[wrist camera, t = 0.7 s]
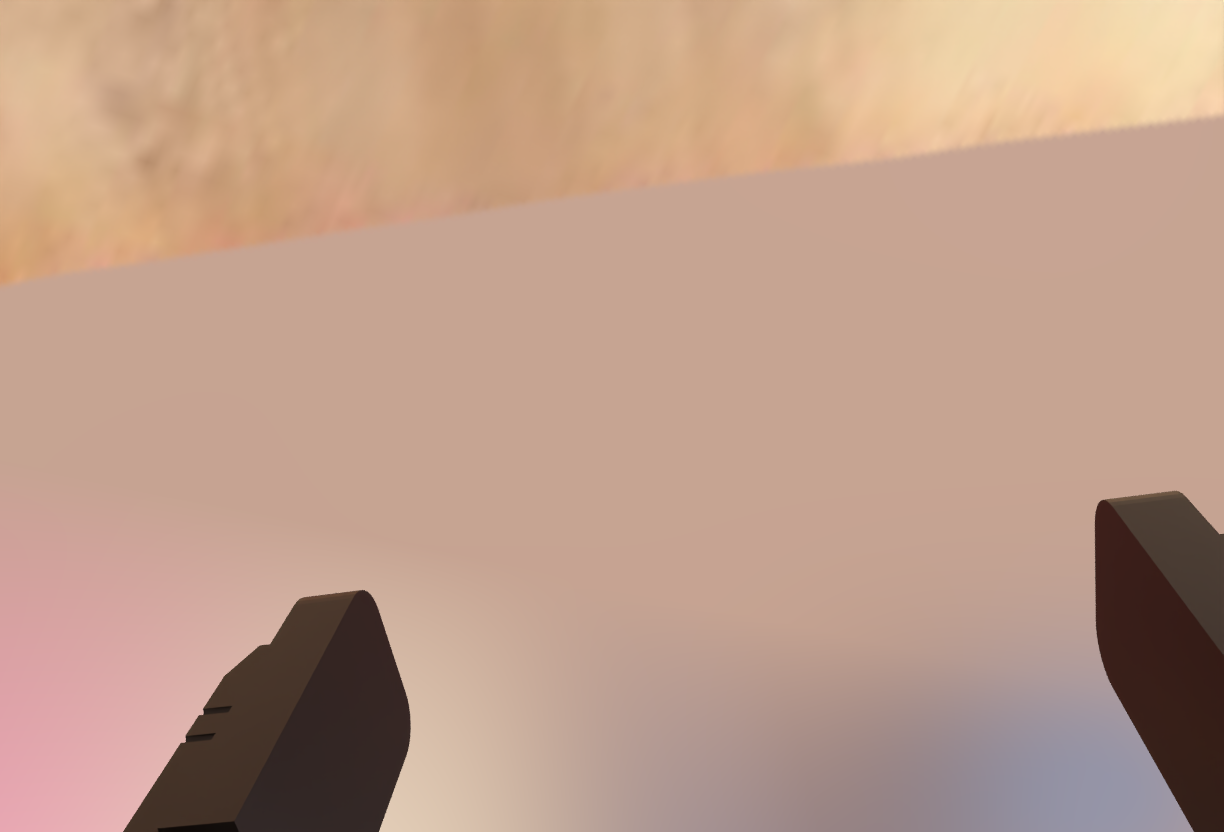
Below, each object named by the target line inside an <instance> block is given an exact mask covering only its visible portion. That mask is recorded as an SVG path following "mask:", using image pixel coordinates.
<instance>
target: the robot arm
mask: <svg viewBox="0 0 1224 832" xmlns="http://www.w3.org/2000/svg"><path fill="white" fill-rule="evenodd" d="M1095 581H1096V583H1095V584H1096V630H1097V638H1098V645H1099V650H1100V654H1101V658H1102V662H1103V665H1104V668H1105V671H1106V674H1107V676H1108V679H1109V681H1110V683H1111V685H1112V687H1113V689H1114V690H1115V692H1116V694H1117V696H1118V698H1119V700H1120V701H1121V703H1122V705H1123V707H1124V708H1125V710H1126V712H1127V714H1128V715H1129V717H1130V719H1131V721H1132V723H1133V724H1134V726H1135V728H1136V730H1137V731H1138V733H1139V735H1140V737H1141V739H1142V740H1143V742H1144V744H1145V745H1146V747H1147V749H1148V751H1149V753H1150V754H1151V756H1152V758H1153V760H1154V762H1155V763H1156V765H1157V767H1158V769H1159V770H1160V772H1161V774H1162V776H1163V778H1164V779H1165V781H1166V783H1167V785H1168V786H1169V788H1170V790H1171V792H1172V794H1173V795H1174V797H1175V799H1176V801H1177V802H1178V804H1179V806H1180V808H1181V810H1182V811H1183V813H1184V815H1185V816H1186V818H1187V820H1188V822H1189V824H1190V825H1191V827H1192V829H1193V831H1194V832H1224V534H1219V533H1218V532H1217V531H1216V530H1215V529H1214V528H1213V527H1212V526H1211V525H1210V523H1209V522H1208V521H1207V520H1206V519H1205V518H1204V517H1203V516H1202V514H1201V513H1200V512H1199V511H1198V510H1197V509H1196V508H1195V507H1194V505H1193V504H1192V503H1191V502H1190V501H1189V500H1188V499H1187V498H1186V497H1185V496H1184V495H1183V494H1182V493H1180V492H1178V491H1172V492H1162V493H1155V494H1146V495H1139V496H1131V497H1123V498H1114V499H1107V500H1102V501H1100V502H1099V504H1098V506H1097V509H1096V514H1095ZM203 710H204V714H203V715H199V716H198V718H197V719H196V721H195V722H194V724H193V725H192V727H191V729H190V730H189V731H188V733H187V734H186V742H185V743H181V744H180V745H179V747H178V748H177V750H176V751H175V753H174V755H173V756H172V758H171V759H170V761H169V762H168V764H167V765H166V767H165V768H164V770H163V771H162V773H161V775H160V776H159V777H158V779H157V781H156V782H155V784H154V785H153V787H152V788H151V790H150V791H149V793H148V794H147V796H146V797H145V799H144V800H143V802H142V804H141V805H140V807H139V808H138V810H137V811H136V813H135V814H134V816H133V817H132V819H131V820H130V822H129V824H128V825H127V827H126V828H125V830H124V831H123V832H379V830H380V827H381V824H382V821H383V819H384V816H385V813H386V810H387V807H388V805H389V802H390V799H391V797H392V794H393V791H394V788H395V785H396V782H397V780H398V777H399V774H400V771H401V769H402V766H403V763H404V760H405V758H406V755H407V752H408V747H409V742H410V729H411V728H410V711H409V704H408V699H407V696H406V692H405V689H404V687H403V683H402V680H401V677H400V674H399V671H398V668H397V665H396V662H395V659H394V656H393V653H392V650H391V647H390V644H389V641H388V637H387V635H386V631H385V628H384V625H383V622H382V619H381V616H380V613H379V610H378V607H377V605H376V603H375V601H374V599H373V597H372V596H371V595H370V594H369V593H368V592H367V591H365V590H359V591H352V592H344V593H335V594H327V595H320V596H311V597H304V598H301V599H299V600H298V601H297V602H296V604H295V605H294V607H293V608H292V610H291V612H290V613H289V615H288V616H287V618H286V620H285V621H284V623H283V624H282V626H281V628H280V629H279V631H278V633H277V634H276V636H275V638H274V639H273V641H272V642H271V644H270V645H261V646H259V647H258V648H257V649H255V650H254V651H253V652H252V653H251V654H250V655H248V656H247V657H246V658H245V659H244V660H243V661H241V662H240V663H239V664H238V665H237V666H236V667H235V668H233V669H232V670H231V671H230V672H229V673H228V674H226V675H225V676H224V678H223V679H222V681H221V682H220V684H219V685H218V687H217V688H216V690H215V692H214V693H213V695H212V696H211V698H210V699H209V701H208V702H207V704H206V705H205V707H204V708H203Z"/></svg>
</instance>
